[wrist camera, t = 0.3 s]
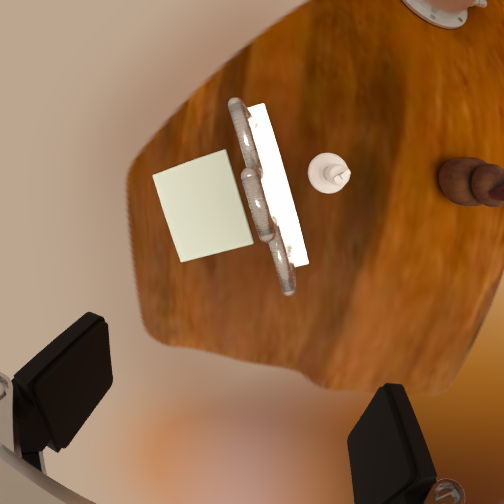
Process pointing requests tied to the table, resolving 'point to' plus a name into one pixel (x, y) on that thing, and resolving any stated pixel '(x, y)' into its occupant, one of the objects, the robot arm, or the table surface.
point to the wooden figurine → (472, 182)
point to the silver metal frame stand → (269, 191)
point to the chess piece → (328, 173)
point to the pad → (203, 206)
